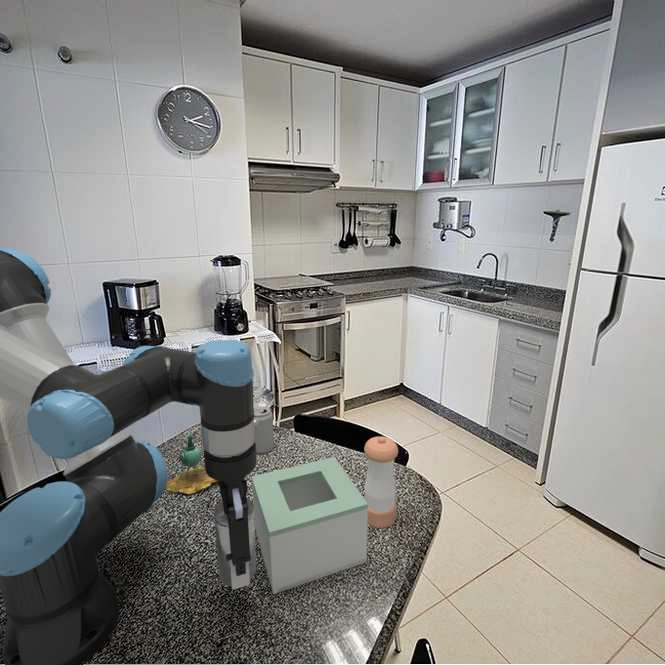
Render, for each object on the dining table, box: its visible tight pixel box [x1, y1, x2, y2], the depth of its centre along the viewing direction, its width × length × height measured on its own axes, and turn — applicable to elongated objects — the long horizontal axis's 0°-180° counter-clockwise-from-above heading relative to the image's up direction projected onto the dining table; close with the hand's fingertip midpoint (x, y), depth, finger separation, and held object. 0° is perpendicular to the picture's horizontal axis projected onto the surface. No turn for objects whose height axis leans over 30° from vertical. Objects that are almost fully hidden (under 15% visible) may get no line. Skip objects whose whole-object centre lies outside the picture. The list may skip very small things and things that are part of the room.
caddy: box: [251, 456, 368, 595], centre depth 77 cm, size 18×16×13 cm
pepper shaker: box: [363, 436, 399, 529], centre depth 84 cm, size 7×7×19 cm
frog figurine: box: [165, 433, 218, 495], centre depth 97 cm, size 10×18×15 cm, turn 100°
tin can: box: [213, 497, 257, 587], centre depth 64 cm, size 6×6×12 cm
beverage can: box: [254, 405, 275, 454], centre depth 111 cm, size 6×6×12 cm
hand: (237, 568), depth 65 cm, fingers closed on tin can, 6 cm apart
